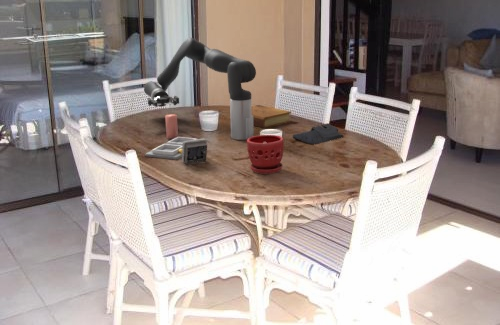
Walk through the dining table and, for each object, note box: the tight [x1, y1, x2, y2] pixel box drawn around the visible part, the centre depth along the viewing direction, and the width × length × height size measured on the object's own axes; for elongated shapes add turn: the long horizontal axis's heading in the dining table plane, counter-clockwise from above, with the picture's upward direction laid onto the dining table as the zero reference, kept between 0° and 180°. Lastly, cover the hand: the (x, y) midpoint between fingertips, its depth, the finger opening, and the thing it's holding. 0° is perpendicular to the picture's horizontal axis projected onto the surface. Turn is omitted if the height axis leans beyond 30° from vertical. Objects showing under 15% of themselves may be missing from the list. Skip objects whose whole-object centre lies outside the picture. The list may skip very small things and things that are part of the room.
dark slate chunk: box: [292, 123, 344, 145], centre depth 249 cm, size 15×22×5 cm
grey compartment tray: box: [145, 136, 198, 160], centre depth 234 cm, size 14×24×2 cm, turn 158°
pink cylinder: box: [164, 113, 179, 140], centre depth 252 cm, size 5×5×10 cm
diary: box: [251, 104, 292, 129], centre depth 280 cm, size 23×19×6 cm
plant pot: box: [246, 134, 285, 175], centre depth 205 cm, size 13×13×12 cm
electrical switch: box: [181, 138, 208, 166], centre depth 215 cm, size 9×5×9 cm, turn 113°
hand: (165, 103), depth 260 cm, fingers open, 8 cm apart
